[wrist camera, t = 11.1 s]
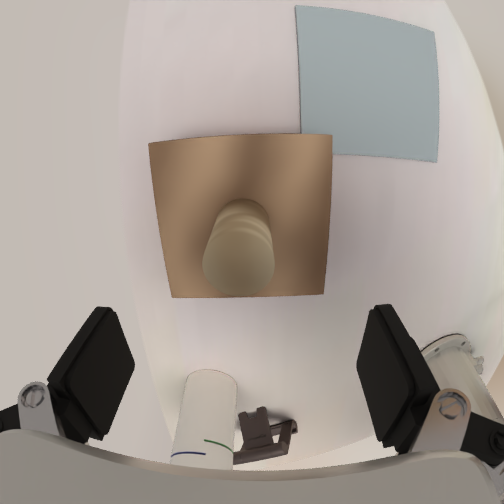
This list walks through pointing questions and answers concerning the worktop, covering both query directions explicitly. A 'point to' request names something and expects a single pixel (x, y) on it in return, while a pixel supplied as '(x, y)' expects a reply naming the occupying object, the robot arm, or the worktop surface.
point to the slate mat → (368, 83)
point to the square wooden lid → (244, 213)
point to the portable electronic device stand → (262, 438)
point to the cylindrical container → (206, 422)
